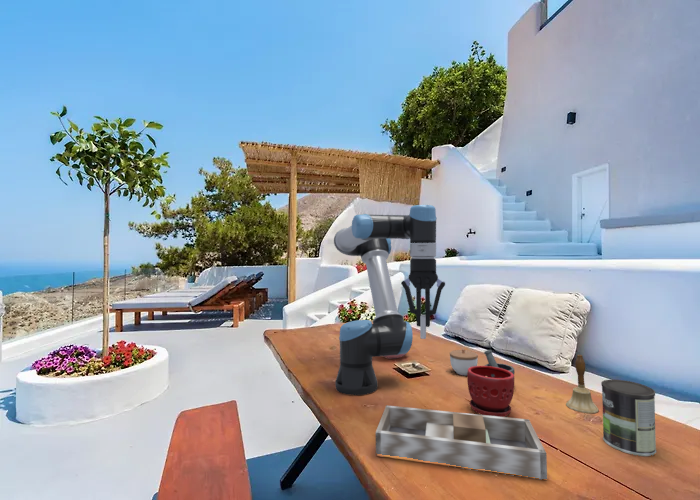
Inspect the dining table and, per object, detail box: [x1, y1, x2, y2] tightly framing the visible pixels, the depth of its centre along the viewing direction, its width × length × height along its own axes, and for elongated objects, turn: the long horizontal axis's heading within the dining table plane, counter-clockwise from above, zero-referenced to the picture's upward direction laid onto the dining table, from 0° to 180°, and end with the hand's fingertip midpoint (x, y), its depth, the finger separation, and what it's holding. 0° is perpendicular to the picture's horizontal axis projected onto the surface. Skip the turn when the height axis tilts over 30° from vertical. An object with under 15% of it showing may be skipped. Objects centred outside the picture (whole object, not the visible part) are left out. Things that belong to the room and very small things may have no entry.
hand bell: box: [565, 354, 600, 414], centre depth 106 cm, size 8×8×16 cm
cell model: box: [383, 351, 409, 360], centre depth 162 cm, size 17×20×11 cm
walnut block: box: [453, 413, 486, 443], centre depth 83 cm, size 7×7×4 cm
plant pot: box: [466, 365, 515, 417], centre depth 104 cm, size 13×13×12 cm
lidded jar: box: [449, 348, 479, 376], centre depth 139 cm, size 11×11×9 cm
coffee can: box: [601, 379, 657, 457], centre depth 85 cm, size 10×10×14 cm
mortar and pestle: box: [483, 349, 515, 378], centre depth 124 cm, size 11×9×12 cm
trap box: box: [375, 405, 548, 480], centre depth 84 cm, size 36×15×6 cm, turn 75°
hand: (423, 337), depth 103 cm, fingers closed
